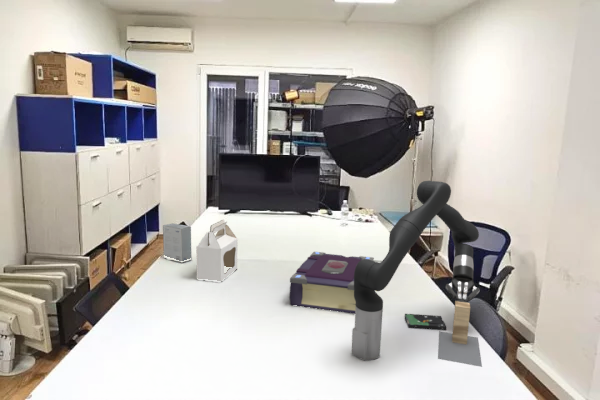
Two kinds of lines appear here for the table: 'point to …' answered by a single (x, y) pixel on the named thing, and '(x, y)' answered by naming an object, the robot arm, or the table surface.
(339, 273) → the book
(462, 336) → the oak block
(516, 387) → the table surface
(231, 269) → the gable box
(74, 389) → the table surface
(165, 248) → the hard drive box
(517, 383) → the table surface
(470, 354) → the rubber mat
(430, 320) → the disk drive
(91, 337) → the table surface
